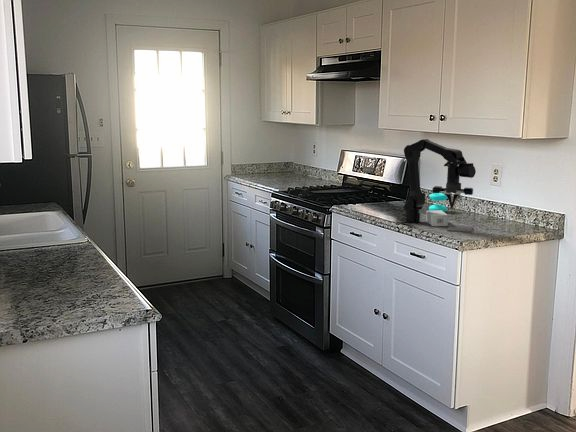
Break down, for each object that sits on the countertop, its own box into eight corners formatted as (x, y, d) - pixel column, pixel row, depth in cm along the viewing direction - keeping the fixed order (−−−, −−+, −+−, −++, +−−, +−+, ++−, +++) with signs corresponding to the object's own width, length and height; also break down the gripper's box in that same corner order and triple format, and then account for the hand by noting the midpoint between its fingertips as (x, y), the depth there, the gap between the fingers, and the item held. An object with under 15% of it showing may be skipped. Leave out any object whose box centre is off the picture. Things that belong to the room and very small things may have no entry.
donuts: (427, 192, 347) (445, 192, 347) (426, 209, 349) (444, 210, 349) (432, 195, 337) (449, 195, 337) (431, 212, 339) (448, 212, 339)
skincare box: (432, 215, 298) (425, 209, 312) (431, 227, 299) (425, 221, 313) (449, 214, 297) (441, 209, 312) (448, 226, 299) (441, 220, 313)
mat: (447, 230, 288) (447, 229, 288) (450, 225, 301) (450, 224, 301) (470, 232, 284) (470, 231, 284) (473, 227, 297) (473, 226, 297)
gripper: (431, 176, 286) (429, 209, 288) (472, 178, 279) (470, 211, 282) (434, 174, 296) (433, 206, 299) (474, 176, 289) (472, 208, 292)
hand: (451, 208), depth 292 cm, fingers closed
